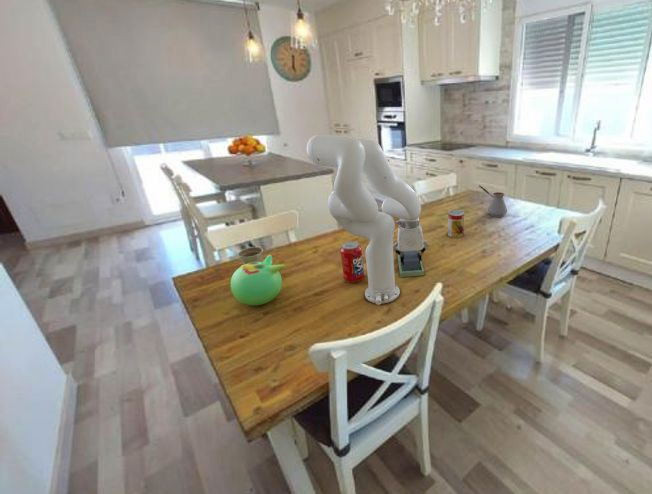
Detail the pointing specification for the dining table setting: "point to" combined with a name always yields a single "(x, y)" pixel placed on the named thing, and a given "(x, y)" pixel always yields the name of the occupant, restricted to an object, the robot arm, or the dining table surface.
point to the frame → (410, 272)
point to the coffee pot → (496, 204)
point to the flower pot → (251, 255)
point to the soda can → (352, 261)
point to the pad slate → (411, 260)
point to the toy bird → (257, 282)
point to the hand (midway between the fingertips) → (411, 262)
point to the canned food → (455, 223)
